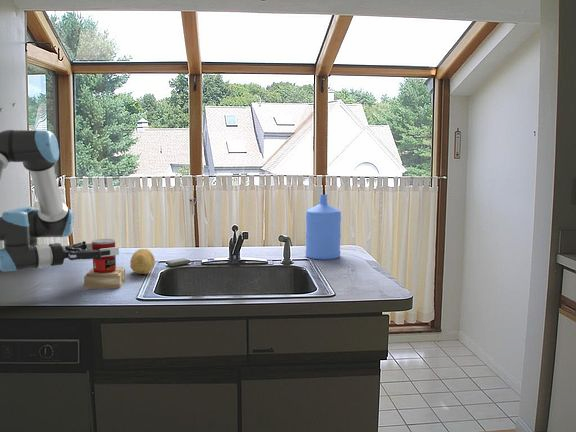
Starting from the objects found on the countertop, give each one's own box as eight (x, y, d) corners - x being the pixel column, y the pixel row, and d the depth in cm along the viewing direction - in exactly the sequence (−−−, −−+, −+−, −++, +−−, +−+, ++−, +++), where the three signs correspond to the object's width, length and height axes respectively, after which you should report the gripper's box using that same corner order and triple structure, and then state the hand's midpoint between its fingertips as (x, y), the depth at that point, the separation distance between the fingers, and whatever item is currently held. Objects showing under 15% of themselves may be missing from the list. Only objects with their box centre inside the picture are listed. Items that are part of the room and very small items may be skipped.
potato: (160, 269, 221) (159, 246, 220) (147, 278, 207) (147, 253, 205) (136, 268, 222) (135, 245, 221) (122, 277, 208) (121, 253, 206)
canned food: (109, 273, 193) (108, 242, 191) (88, 272, 194) (87, 241, 193) (120, 268, 200) (119, 239, 199) (100, 267, 202) (99, 238, 200)
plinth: (91, 280, 203) (91, 267, 202) (125, 279, 205) (124, 266, 204) (84, 289, 191) (83, 275, 191) (120, 287, 193) (119, 274, 192)
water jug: (339, 260, 239) (340, 197, 235) (303, 259, 241) (303, 196, 237) (341, 253, 254) (342, 193, 250) (307, 252, 256) (308, 192, 253)
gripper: (40, 259, 195) (99, 252, 208) (60, 273, 176) (125, 264, 189) (38, 238, 194) (98, 233, 207) (59, 250, 175) (124, 242, 188)
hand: (111, 247), depth 198 cm, fingers open, 13 cm apart
